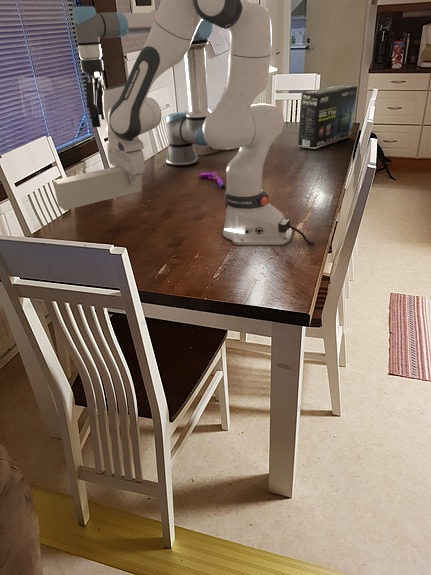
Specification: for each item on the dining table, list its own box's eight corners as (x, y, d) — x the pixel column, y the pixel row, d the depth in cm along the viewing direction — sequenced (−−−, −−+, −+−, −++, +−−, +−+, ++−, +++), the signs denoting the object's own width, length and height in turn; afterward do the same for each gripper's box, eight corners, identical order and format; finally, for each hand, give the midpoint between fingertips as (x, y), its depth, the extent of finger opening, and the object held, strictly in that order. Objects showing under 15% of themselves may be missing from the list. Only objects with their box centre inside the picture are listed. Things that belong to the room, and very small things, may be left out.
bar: (134, 187, 158) (131, 163, 153) (141, 191, 154) (138, 166, 150) (58, 205, 145) (52, 180, 141) (64, 210, 141) (58, 184, 137)
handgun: (199, 176, 203) (199, 172, 202) (216, 174, 204) (216, 170, 203) (207, 191, 185) (207, 186, 184) (226, 189, 186) (225, 184, 185)
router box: (314, 151, 231) (318, 94, 217) (296, 148, 237) (299, 92, 224) (352, 138, 251) (358, 85, 238) (335, 135, 258) (340, 83, 245)
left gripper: (89, 56, 169) (99, 116, 180) (69, 62, 147) (82, 130, 158) (109, 55, 168) (118, 116, 179) (92, 61, 147) (103, 130, 158)
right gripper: (100, 136, 151) (106, 177, 159) (127, 148, 137) (133, 192, 144) (117, 133, 155) (123, 173, 162) (146, 144, 140) (151, 188, 147)
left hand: (101, 123), depth 169 cm, fingers open, 13 cm apart
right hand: (128, 182), depth 153 cm, fingers closed on bar, 5 cm apart
